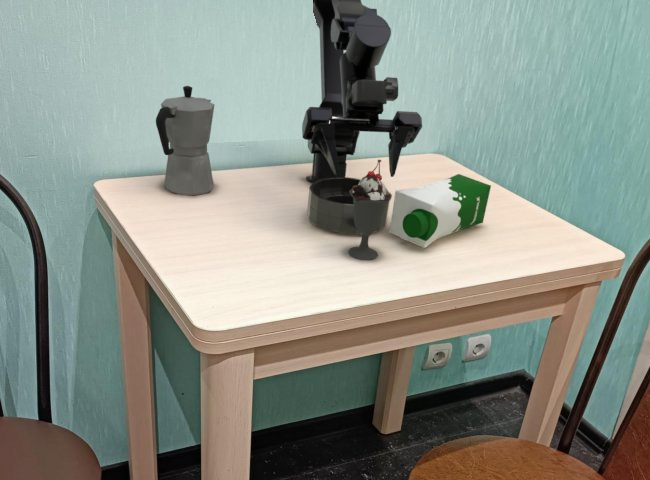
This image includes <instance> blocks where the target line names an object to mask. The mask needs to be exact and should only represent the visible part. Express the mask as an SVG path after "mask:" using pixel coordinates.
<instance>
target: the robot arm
mask: <svg viewBox="0 0 650 480" xmlns="http://www.w3.org/2000/svg"><path fill="white" fill-rule="evenodd" d="M313 13H314V16H315V19H316V23H317V24H316V23H315V24H316V27H318V29H319V54H320V55H319V56H320V57H319V59H320V60H319V61H320V87H321V88H320V89H321V103H320V104H319V106H309V107H308V108H307V109H306V110H305V114H304V116H303V120H302V125H301V132H302V133H301V135H302V139H304V140H306V141H307V148H308V150H309V152H310V154H311V155H313V157H312V169H311V171H312V172H311V175H307V176H305V180H307V181H309V182H310V183H311V184H312V183H313V182H315V181H317V180H320V179H325V178H334V177H346V175H347V165H348V164H347V156H348V155H350V156H354V154H355V153H356V149H357V144H358V143H357V142H358V139H359V136H360V132H368V133H388V139H389V142H388V145H387V147H388V167H389V175H390V177H391V178H393V177H395V174H396V172H397V168H398V164H399V160H400V156H401V153H402V152H401V151H402V150H403V149H404V148H406V147H407V146H408V145H409V144H412V143H414V141H415V140H416V138H417V137H418V135H419V133H420V131H421V130H422V128H423V119H422V118H423V117H422V116H421V114H420V113H419V112H417V111H407V110H405V111H404V110H402V111H401V110H397V111H396V112H395V114H394V116H393V118H392V119H383V118H380V115H382V114H383V112H384V105H387V103H388V102H394V101H396V100H397V99H398V98H399V81H398V77H389V76H387V77H385V78H384V79H383V80H377V74H376V66H378V65H379V64H380V62H381V60H382V57H383V55H384V53H385V51H386V48H387V47H388V46H387V45H388V43H389V41H390V39H391V36H392V29H391V27H390V26H389V23H388V22H387V21H386V20H385V19H384V18H383V17H382V16H380V15H378V9H377V8H371V7H368V6H366V5H364V4H363V3H362V0H313ZM344 51H345V52H344Z"/></svg>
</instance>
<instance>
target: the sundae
mask: <svg viewBox="0 0 650 480" xmlns="http://www.w3.org/2000/svg"><path fill="white" fill-rule="evenodd" d="M381 162H382V159H377V164H376V166H375V168H374V169H373V170H368V171H367V174H366V175H365V176H363V177H362V178H361V180H360V182H359V184H358V185H357V186H353V189H351V190H350V191H349V192H350V194H351V196H352V197H353V204H354V224H355V227H356V228H357V230H358V231H359V232H360V233H361V234H360V235H361V241H360V242H359V243H360V244H359V245H358V246H352V247H350V248H349V249H348V251H347V254H348V255H349V256H350V257H352V258H354V259H357V260H360V261H372V260H375V259H377V258H378V257H379V253H378V251H377V250H375V249H373V248H371V247H370V245H369V240H370V239H369V238H370V236H371V235H372V234H373V233H376V232H377V231H376V230H377V229H378V228H379V225H380V222H381V219H382V216H383V212H384V208H385V205H386V203H387V202H389V201H390V202H391V199H392V197H393V194H392V193H391V192H389V191H388V192H386V189H387V187H386V185H385V184H384V183H383V181H382V179H383V177H382V175H381V166H380V165H381V164H380V163H381ZM377 168H378V173H375V171H376V169H377ZM390 202H389V203H390ZM375 231H376V232H375Z"/></svg>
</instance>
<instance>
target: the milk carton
mask: <svg viewBox="0 0 650 480" xmlns="http://www.w3.org/2000/svg"><path fill="white" fill-rule="evenodd" d="M491 187H492V185H491V184H488V183H485V182H482V181H480V180H476V179H474V178H471V177H468V176H465V175H463V174H460V173H458V174H455V175H453V176H450V177H449V178H446V179H441V180H439V181H435V182H432V183H428V184H425V185H422V186H418V187H411V188H404V189H403V188H402V189H396V190H395V191H394V199H393V205H392V213H391V219H390V224H389V225H390V227H389V233H390V234H392V235H394V236H397V237H399V238H400V239H401V240H404V241H406V242H409V243H412V244H414V245H416V246H419V247H421V248H423V249H425V248H427V247H428V246H429V245H430V244H432V243H434V241H436V240H439V239H441V238H444V237H446V236H448V235H452V234H454V233H457V232H459V231H462V230H464V229H465V230H466V229H468V228H471V227H474V226H477V225H480V224H483V223H484V219H485V215H486V211H487V206H488V201H489V196H490V192H491Z"/></svg>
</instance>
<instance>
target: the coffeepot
mask: <svg viewBox="0 0 650 480" xmlns="http://www.w3.org/2000/svg"><path fill="white" fill-rule="evenodd" d="M182 90H183V95H184V96H177V97H170V98H165V99H164V100H163V101H162V102H161V103H160V105H161V106H160V107H161V108H160V109H159V110H158V113H157V114H156V118H155V127H156V129H157V132H158V136H159V140H160V144H161V147H162V151H163V154H164V155H165V156H167V160H166V167H165V169H166V170H165V175H164V181H163V187H164V188H165V189H166V190H167V191H169V192H171V193H174V194H176V195H177V194H178V195H182V196H200V195H205V194H208V193H209V192H212V190H213V187H214V185H215V184H214V177H213V172H212V165H211V160H210V154H209V152H208V145H209V143H210V138H211V131H212V124H213V117H214V112H215V111H214V110H215V103H213V102H211V101H212V99H207V98H205V97H194V96H192V94H193V87H192V86H191V85H185V86H183V87H182Z"/></svg>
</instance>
